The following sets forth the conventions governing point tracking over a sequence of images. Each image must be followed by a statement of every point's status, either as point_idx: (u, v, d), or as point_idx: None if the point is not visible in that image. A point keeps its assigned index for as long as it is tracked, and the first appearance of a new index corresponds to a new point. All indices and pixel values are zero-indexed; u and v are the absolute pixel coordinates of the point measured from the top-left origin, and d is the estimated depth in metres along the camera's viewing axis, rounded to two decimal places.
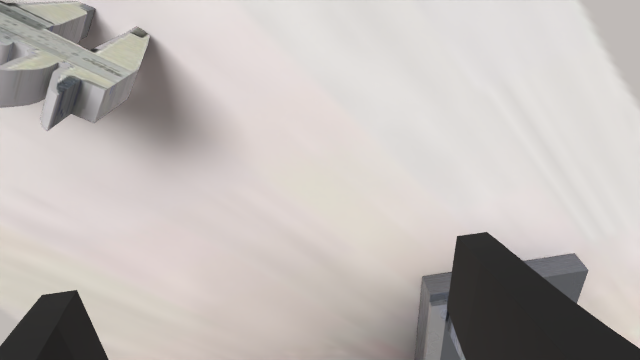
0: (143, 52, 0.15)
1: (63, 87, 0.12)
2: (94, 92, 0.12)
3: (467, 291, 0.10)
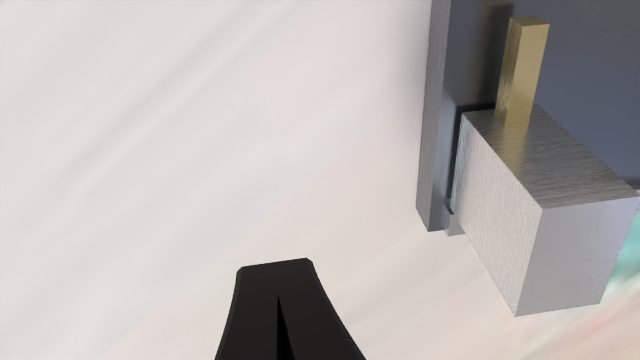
0: None
1: None
2: None
3: None
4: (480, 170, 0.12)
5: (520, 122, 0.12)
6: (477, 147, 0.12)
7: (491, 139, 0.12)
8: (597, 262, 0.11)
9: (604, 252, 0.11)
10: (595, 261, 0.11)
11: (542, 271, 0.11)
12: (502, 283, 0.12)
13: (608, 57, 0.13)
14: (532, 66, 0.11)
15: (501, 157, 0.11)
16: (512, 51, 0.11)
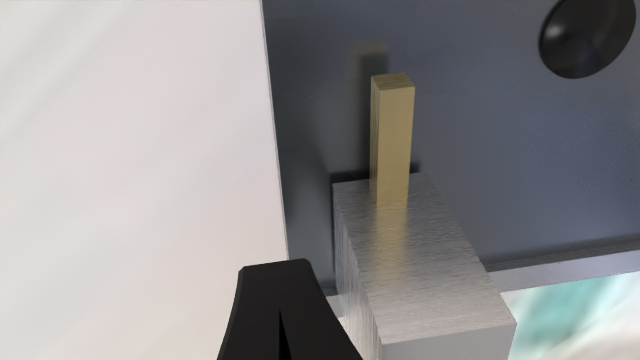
0: None
1: None
2: None
3: None
4: (346, 261, 0.10)
5: (396, 200, 0.10)
6: (343, 231, 0.10)
7: (354, 225, 0.09)
8: None
9: None
10: None
11: None
12: None
13: (486, 118, 0.10)
14: (401, 137, 0.09)
15: (357, 254, 0.09)
16: (375, 118, 0.09)
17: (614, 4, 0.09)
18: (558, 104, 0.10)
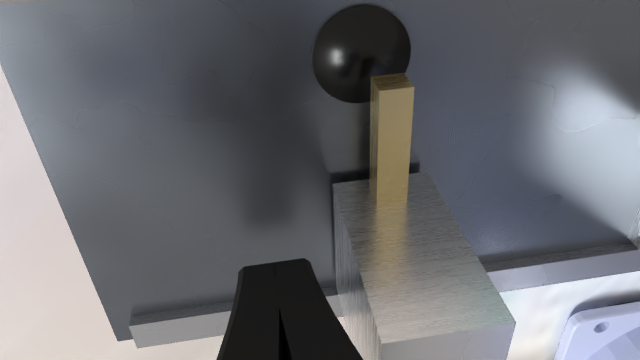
0: None
1: None
2: None
3: None
4: (347, 261, 0.10)
5: (396, 200, 0.10)
6: (343, 231, 0.10)
7: (354, 225, 0.09)
8: None
9: None
10: None
11: None
12: None
13: (273, 143, 0.10)
14: (400, 137, 0.09)
15: (357, 254, 0.09)
16: (375, 119, 0.09)
17: (381, 27, 0.09)
18: (350, 128, 0.10)
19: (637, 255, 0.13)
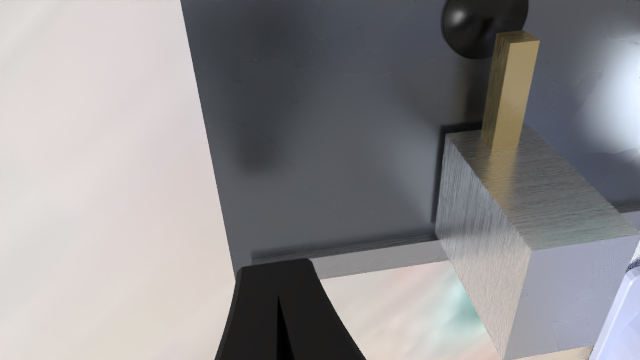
0: None
1: None
2: None
3: None
4: (466, 198, 0.11)
5: (509, 145, 0.11)
6: (462, 173, 0.11)
7: (477, 165, 0.11)
8: (592, 304, 0.10)
9: (601, 294, 0.10)
10: (590, 302, 0.10)
11: (532, 314, 0.10)
12: (489, 323, 0.11)
13: (399, 96, 0.11)
14: (521, 86, 0.10)
15: (487, 186, 0.10)
16: (499, 70, 0.10)
17: None
18: (466, 83, 0.11)
19: None
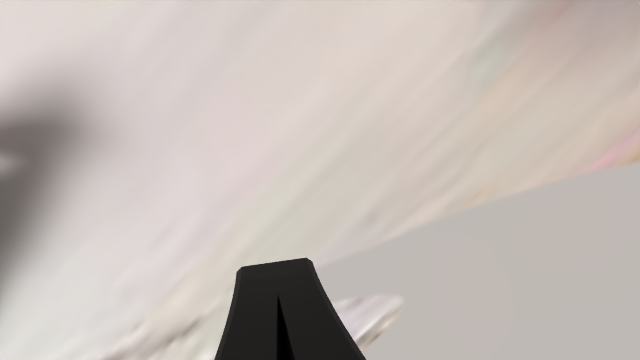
0: None
1: None
2: None
3: None
4: None
5: None
6: None
7: None
8: None
9: None
10: None
11: None
12: None
13: None
14: None
15: None
16: None
17: None
18: None
19: None
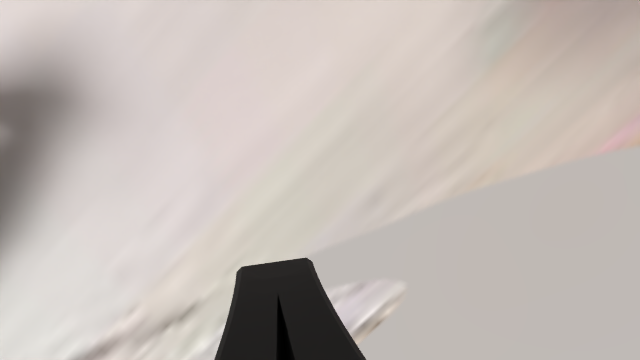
0: None
1: None
2: None
3: None
4: None
5: None
6: None
7: None
8: None
9: None
10: None
11: None
12: None
13: None
14: None
15: None
16: None
17: None
18: None
19: None
